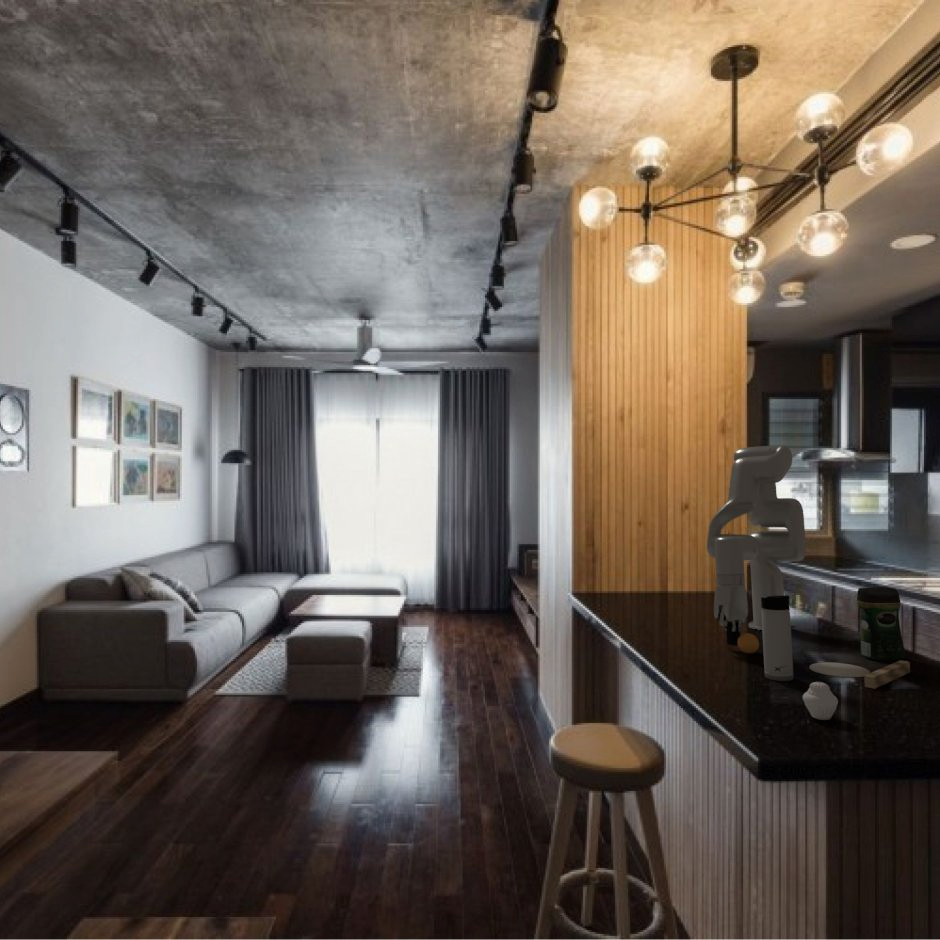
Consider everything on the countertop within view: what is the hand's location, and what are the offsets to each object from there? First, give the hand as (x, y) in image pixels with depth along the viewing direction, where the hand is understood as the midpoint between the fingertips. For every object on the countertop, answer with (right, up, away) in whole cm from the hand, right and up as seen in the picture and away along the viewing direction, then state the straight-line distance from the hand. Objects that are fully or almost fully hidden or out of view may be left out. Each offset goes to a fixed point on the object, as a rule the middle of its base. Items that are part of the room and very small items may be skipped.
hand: (733, 644), depth 181 cm
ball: (+3, +1, -3) cm, 4 cm away
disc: (+17, 0, -23) cm, 28 cm away
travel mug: (0, -1, -28) cm, 28 cm away
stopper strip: (+23, +1, -32) cm, 39 cm away
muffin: (-6, 0, -55) cm, 55 cm away
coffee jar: (+34, 0, -13) cm, 36 cm away
